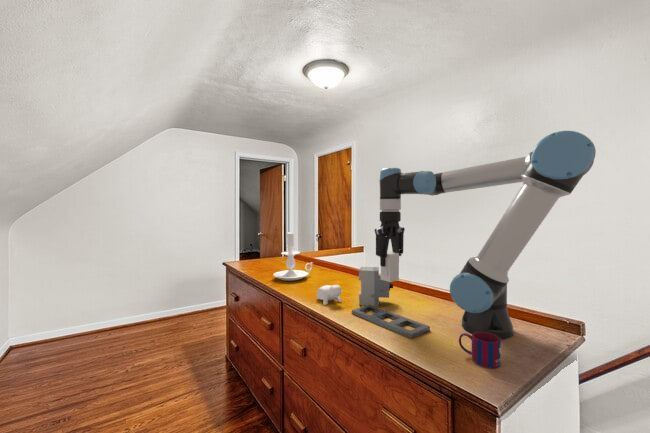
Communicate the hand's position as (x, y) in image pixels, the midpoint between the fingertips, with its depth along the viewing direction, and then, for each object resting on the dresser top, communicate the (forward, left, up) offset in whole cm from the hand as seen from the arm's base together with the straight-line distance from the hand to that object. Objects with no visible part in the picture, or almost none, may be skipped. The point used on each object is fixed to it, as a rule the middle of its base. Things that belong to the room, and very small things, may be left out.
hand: (389, 273), depth 108 cm
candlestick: (+77, -5, -17) cm, 79 cm away
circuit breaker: (+16, -10, -17) cm, 26 cm away
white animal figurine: (+30, +5, -17) cm, 35 cm away
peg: (0, 0, -2) cm, 2 cm away
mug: (-34, +3, -17) cm, 38 cm away
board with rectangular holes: (-1, +2, -17) cm, 17 cm away
